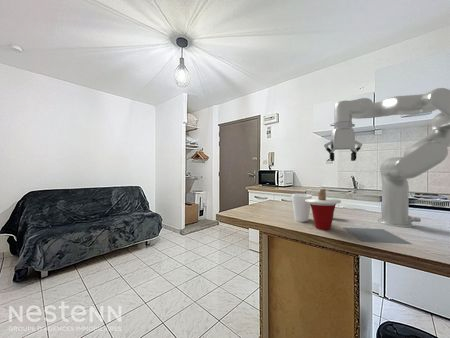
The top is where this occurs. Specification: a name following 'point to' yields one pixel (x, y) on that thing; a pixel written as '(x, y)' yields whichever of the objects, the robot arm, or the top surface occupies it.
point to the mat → (375, 235)
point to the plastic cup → (323, 215)
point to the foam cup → (301, 207)
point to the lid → (322, 199)
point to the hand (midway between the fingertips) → (342, 160)
